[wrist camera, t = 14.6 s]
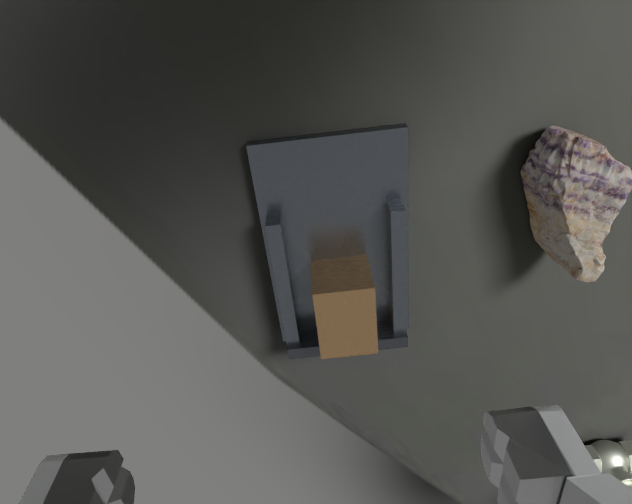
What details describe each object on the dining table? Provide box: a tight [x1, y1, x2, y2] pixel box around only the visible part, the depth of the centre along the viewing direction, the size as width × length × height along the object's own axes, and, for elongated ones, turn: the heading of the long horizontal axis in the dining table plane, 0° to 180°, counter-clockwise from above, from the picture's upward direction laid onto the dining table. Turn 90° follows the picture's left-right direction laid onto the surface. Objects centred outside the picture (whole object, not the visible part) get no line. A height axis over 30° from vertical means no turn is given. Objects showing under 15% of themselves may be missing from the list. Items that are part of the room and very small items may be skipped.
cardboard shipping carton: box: [311, 255, 378, 359], centre depth 41 cm, size 5×7×5 cm
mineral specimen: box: [520, 125, 632, 282], centre depth 37 cm, size 13×7×6 cm, turn 22°
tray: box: [246, 124, 409, 359], centre depth 40 cm, size 12×20×4 cm, turn 6°
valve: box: [585, 440, 632, 489], centre depth 53 cm, size 7×7×12 cm
